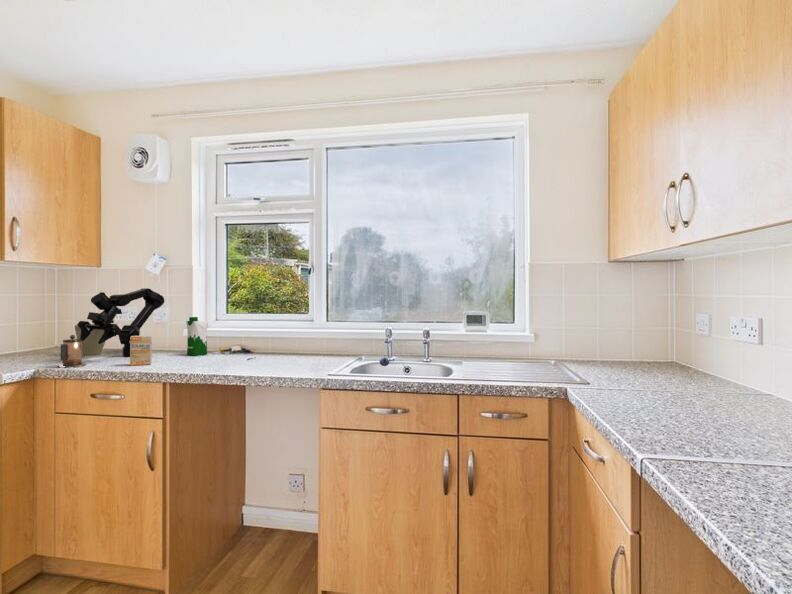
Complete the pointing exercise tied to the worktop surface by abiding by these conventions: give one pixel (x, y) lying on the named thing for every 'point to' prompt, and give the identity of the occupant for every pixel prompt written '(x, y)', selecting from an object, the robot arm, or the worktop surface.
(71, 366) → the trivet
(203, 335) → the milk carton
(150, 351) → the supplement box
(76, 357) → the copper cylinder
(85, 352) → the plant pot
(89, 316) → the robot arm
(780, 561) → the worktop surface
